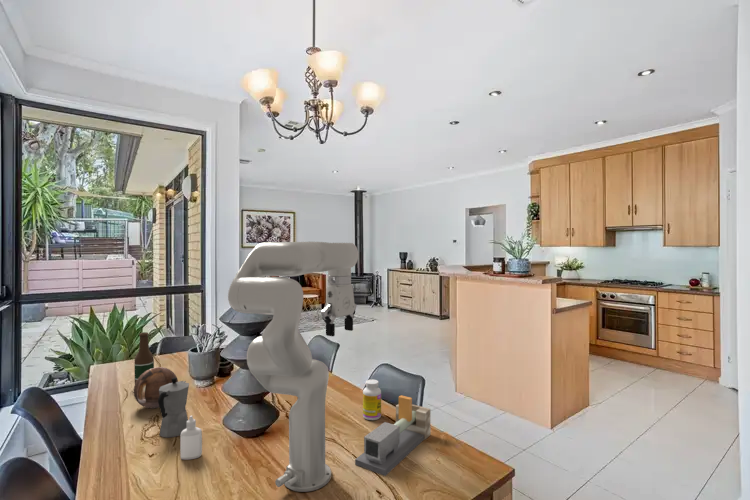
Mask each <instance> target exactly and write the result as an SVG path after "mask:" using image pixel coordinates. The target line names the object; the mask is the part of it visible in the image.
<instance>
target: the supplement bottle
mask: <svg viewBox="0 0 750 500" xmlns="http://www.w3.org/2000/svg"><path fill="white" fill-rule="evenodd" d="M379 385H380V384H379V380H377V379H368V380H366V381H365V387H364V388H363V390H362V416H363V418H364V419H365V420H368V421H377V420H379V419H380V418H381V416H382V390H381V388H380V387H379Z"/></svg>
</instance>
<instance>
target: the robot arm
mask: <svg viewBox="0 0 750 500" xmlns="http://www.w3.org/2000/svg"><path fill="white" fill-rule="evenodd" d="M358 250H359V249H358V247H357V245H355V244H354V243H353V242H325V241H287V242H286V241H280V242H279V241H277V242H276V241H275V242H273V241H271V242H268V241H266V242H264V241H263V242H260V243H258V244H257V245H256V246H255V247H253V249H252V250H251V251H250V252H249V254H248V255H247V256H246V258H245V260H244V261H243V263H242V265H241V266H240V268H239V269H238V270H237V273H236V274H235V276H234V278H233V279H232V281H231V284H230V286H229V289H228V293H227V294H228V295H227V300H228V303H229V305H230V307H231V308H232V309H233V310H234V311H235V312H237V313H241V314H252V315H253V314H254V315H272V319H271V321H270V322H269V323H268V324H267V325H266V327H265V328H264V330H263V332H262V335H259V336H257V337H256V338H254V339H253V340H252V341H251V342H250V344H249V345H248V348H247V352H246V364H247V368H248V370H249V372H250V373H251V374H252V376H253V377H254V378H255V379H256V380H257V382H258V383H259V384H260V385H261V386H262V387H263V388H264V389H265V390H266V391H267V392H269V393H272V394H279V395H288V396H294V397H297V400H296V401H295V403H293V405H292V406H291V407H290V409H289V415H288V437H289V438H288V440H289V442H288V444H289V445H288V451H289V452H288V455H289V456H288V465H287V466H286V467H285V469H286V470H285V471H284V473H283V475H281V476H279V477H278V478H276V479H275V480H274V481H275V486H276V487H277V488H280V487H282V486H283V485H284V486H285V487H286V488H288V489H289V490H291V491H294V492H299V493H304V492H305V493H306V492H312V491H313V492H314V491H316V490H319V489H321V488H324V486H326V485H327V484H328V483H329V482H330V480H331V479H332V478H331V477H332V470H331V467H330V466H329V465H328V464H326V397H327V390H328V383H329V376H330V375H329V367H328V366H327V364H325V363H324V362H323V361H321V360H318V359H314V358H313V356H312V352H311V349H310V348H309V346H308V343H307V342H306V340H305V338H304V337H303V335H302V334H301V332H300V330H299V326H300V320H301V315H302V310H303V304H304V290H303V287H302V285H301V284H300V282H298V281H297V280H296V279H293V278H290V277H298V276H302V275H307V274H313V273H321V272H327V277H328V278H327V289H326V295H325V297H326V298H325V306H324V307H323V309H321V311H320V314H321V316H322V320H323V322H324V324H325V336H327V337H335V333H336V332H335V331H336V325H335V323H334V322H335V320H336V318H342V317H344V330H345V331H349V332H351V331H353V330H354V318H355V314H356V309H357V303H355V295H354V294H355V293H354V288H353V284H352V268H354V267H355V266H356V264H357V263H358V262H359V261H358V260H359V251H358Z"/></svg>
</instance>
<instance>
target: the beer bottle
mask: <svg viewBox="0 0 750 500" xmlns="http://www.w3.org/2000/svg"><path fill="white" fill-rule="evenodd" d="M138 336H139V344H138V345H139V346H138V352H137V353H136V354H135V357H134V361H133V362H134V366H133V367H134V384H135V383H136V381H137V379H138V378H139V377H140V376H141V375H142V374H143V373H144V372H146V371H147V370H149V369H152V368H155V360H154V355H153V352H151V350H150V345H149V332H145V331H144V332H140V333H139V334H138Z"/></svg>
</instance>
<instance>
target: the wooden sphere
mask: <svg viewBox="0 0 750 500" xmlns="http://www.w3.org/2000/svg"><path fill="white" fill-rule="evenodd" d="M172 378H177V380H176V382H179V379H178V377H177V375H176V373H175V372H174V371H173V370H171V369H169V368H167V367H163V366H161V367H160V366H159V367H158V366H157V367H156V366H155V367H154V368H152V369H149V370H147V371H146V372H144V373H143V374H142V375H141V376H140V377H139V378H138V379H137V381H136V383H135V382H134V387H133V396H134V399H135V401H136V402H137V403H138V404H139V405H140V406H142V407H143V408H147V409H158V408H159V409H160V407H159V404H158V399H159V396H160V394H159V389H160V387H161V386H164V385H166V384H169V383H172Z"/></svg>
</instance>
